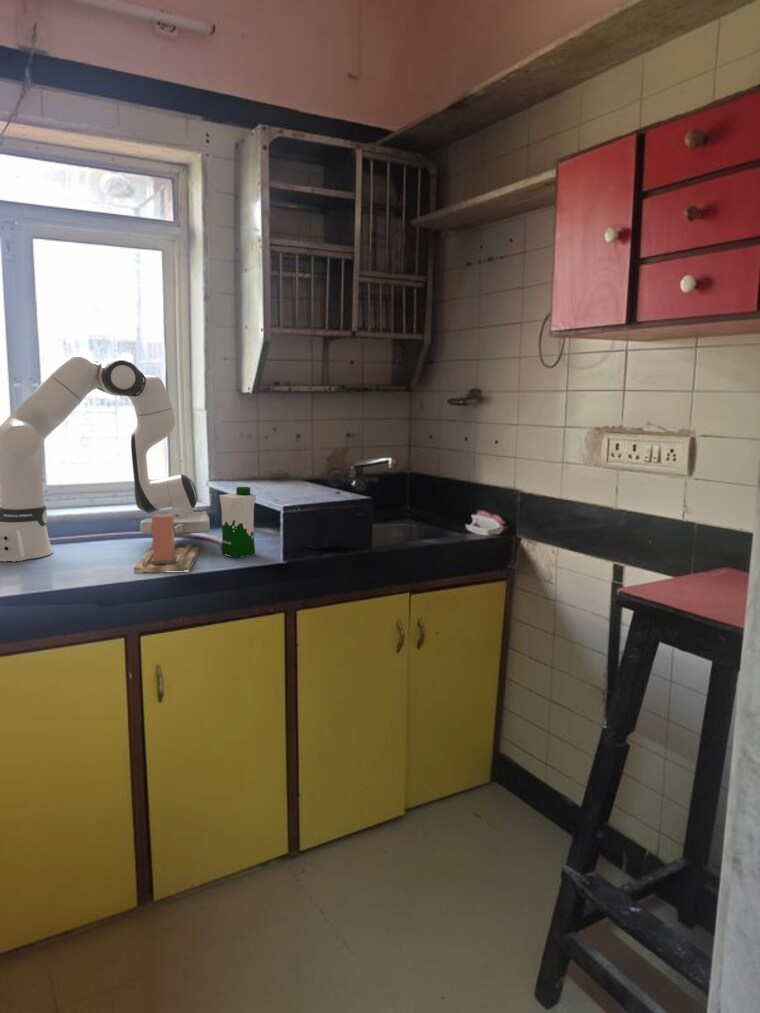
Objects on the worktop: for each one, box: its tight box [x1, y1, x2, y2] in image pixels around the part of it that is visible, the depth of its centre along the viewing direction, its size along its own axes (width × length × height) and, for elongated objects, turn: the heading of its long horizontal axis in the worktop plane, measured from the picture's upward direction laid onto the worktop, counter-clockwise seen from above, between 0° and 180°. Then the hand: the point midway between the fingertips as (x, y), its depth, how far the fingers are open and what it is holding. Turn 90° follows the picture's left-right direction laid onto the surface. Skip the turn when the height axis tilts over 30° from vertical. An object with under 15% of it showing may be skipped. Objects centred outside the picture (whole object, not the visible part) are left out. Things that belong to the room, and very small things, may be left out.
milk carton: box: [219, 486, 256, 558], centre depth 208 cm, size 9×9×20 cm
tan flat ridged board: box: [133, 543, 199, 574], centre depth 199 cm, size 14×24×3 cm, turn 8°
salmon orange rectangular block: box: [151, 513, 177, 564], centre depth 191 cm, size 6×5×13 cm
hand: (172, 530), depth 205 cm, fingers closed
